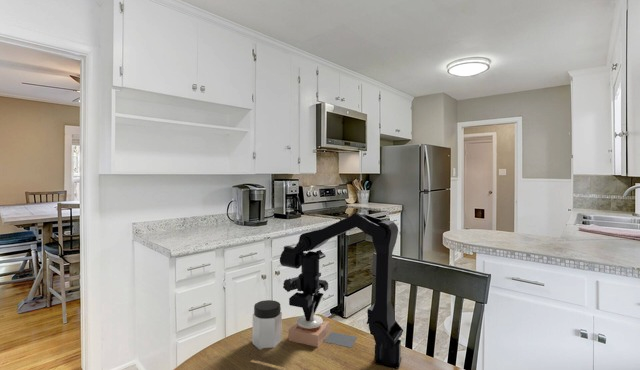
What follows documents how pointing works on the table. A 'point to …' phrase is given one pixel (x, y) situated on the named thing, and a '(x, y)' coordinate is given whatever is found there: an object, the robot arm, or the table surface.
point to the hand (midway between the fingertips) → (309, 318)
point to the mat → (341, 339)
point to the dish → (309, 334)
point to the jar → (267, 324)
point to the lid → (313, 323)
